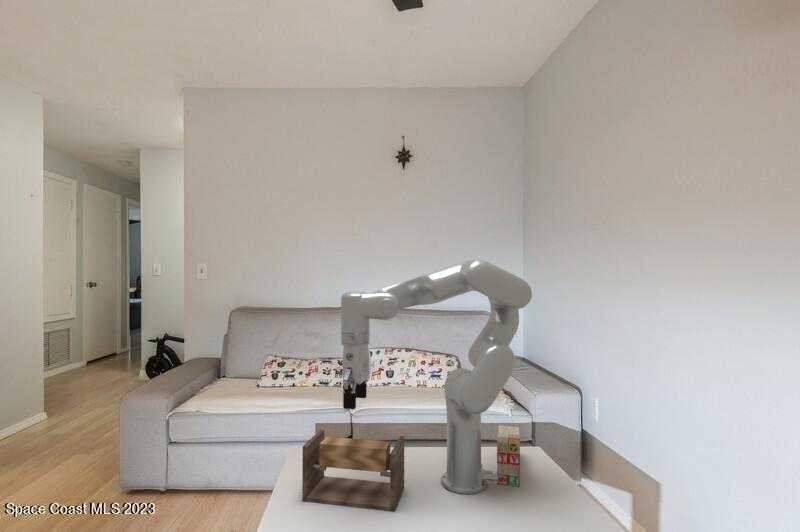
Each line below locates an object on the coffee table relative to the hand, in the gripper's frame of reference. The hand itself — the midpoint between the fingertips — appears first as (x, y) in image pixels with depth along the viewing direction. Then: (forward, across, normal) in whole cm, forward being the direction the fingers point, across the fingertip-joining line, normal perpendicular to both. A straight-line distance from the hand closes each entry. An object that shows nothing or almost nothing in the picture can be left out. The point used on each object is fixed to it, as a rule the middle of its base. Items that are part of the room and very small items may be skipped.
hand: (355, 402), depth 115 cm
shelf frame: (+24, 0, 0) cm, 24 cm away
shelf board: (+16, 0, 0) cm, 17 cm away
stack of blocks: (+25, +24, -41) cm, 53 cm away
